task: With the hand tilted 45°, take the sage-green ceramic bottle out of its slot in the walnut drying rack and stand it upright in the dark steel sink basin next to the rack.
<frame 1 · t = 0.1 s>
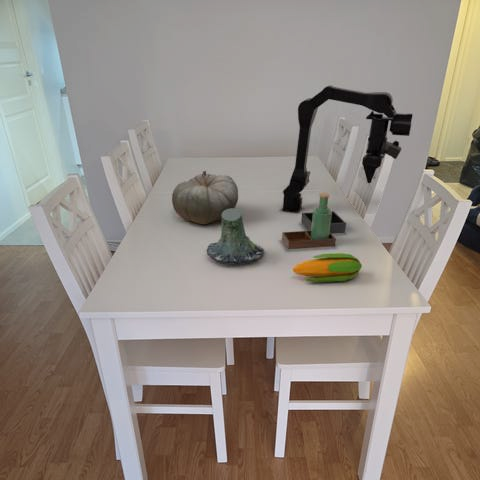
hand: (370, 179, 163), 15 cm above the table, tool pointing down, fingers open, 9 cm apart
sink: (322, 228, 162), on the table
gourd: (205, 218, 171), on the table
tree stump: (235, 255, 143), on the table
bottle: (319, 241, 151), point 1 cm above the table, touching rack
corn: (325, 279, 130), on the table
rack: (307, 244, 151), on the table
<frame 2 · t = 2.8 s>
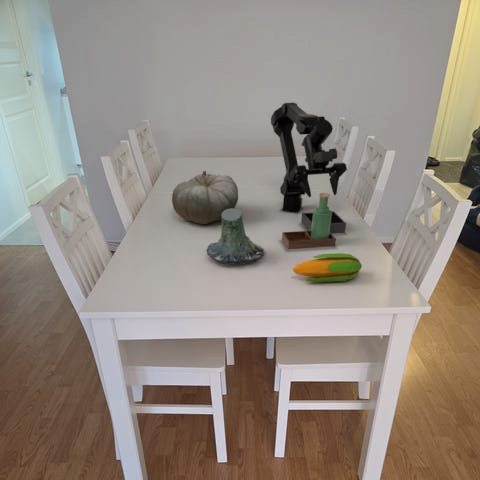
hand: (322, 195, 151), 14 cm above the table, tool tilted 40°, fingers open, 9 cm apart
nothing on the table moved.
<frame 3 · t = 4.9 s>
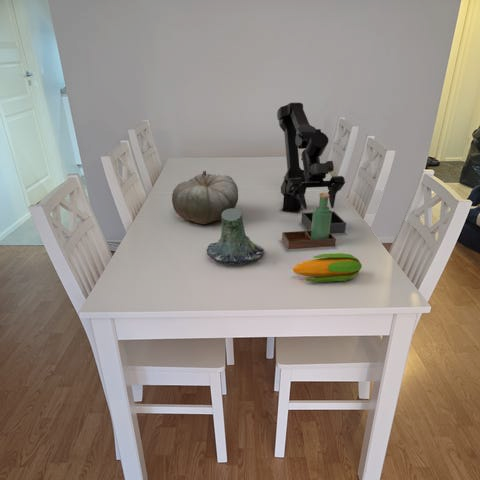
hand: (319, 208, 148), 11 cm above the table, tool tilted 45°, fingers open, 9 cm apart
nothing on the table moved.
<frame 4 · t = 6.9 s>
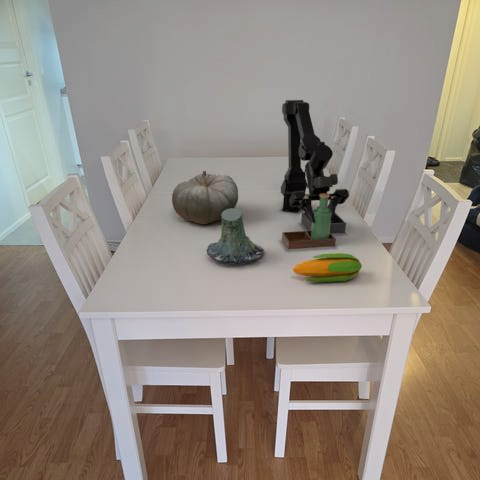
hand: (322, 221, 146), 8 cm above the table, tool tilted 45°, fingers closed on bottle, 6 cm apart
bottle: (319, 241, 151), point 1 cm above the table, touching gripper, rack
everything else where it was.
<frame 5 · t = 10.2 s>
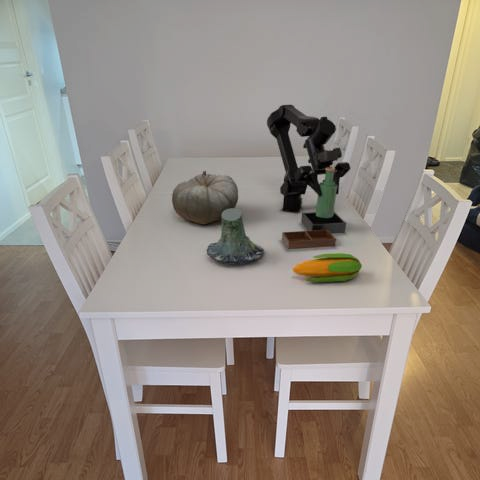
hand: (329, 194, 151), 14 cm above the table, tool tilted 45°, fingers closed on bottle, 6 cm apart
bottle: (324, 214, 156), point 6 cm above the table, touching gripper
everything else where it was.
when the fingers open (8 cm above the table, at t = 13.4 s): bottle stays where it is, resting on sink.
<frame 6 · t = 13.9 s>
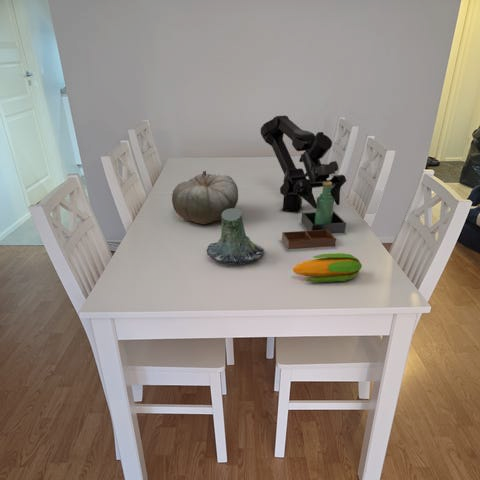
hand: (327, 206, 156), 9 cm above the table, tool tilted 45°, fingers open, 9 cm apart
bottle: (322, 227, 162), point 1 cm above the table, touching sink
everything else where it was.
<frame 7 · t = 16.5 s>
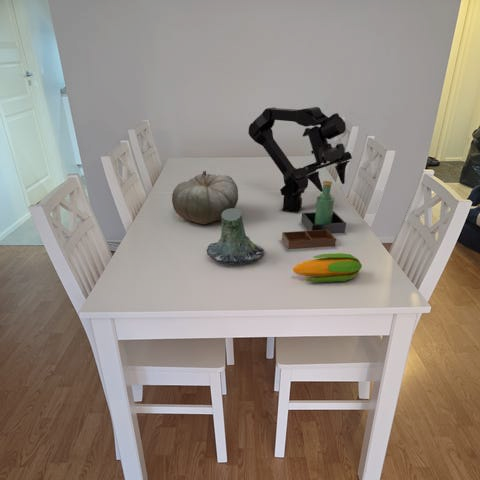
hand: (332, 187, 162), 12 cm above the table, tool tilted 30°, fingers open, 9 cm apart
nothing on the table moved.
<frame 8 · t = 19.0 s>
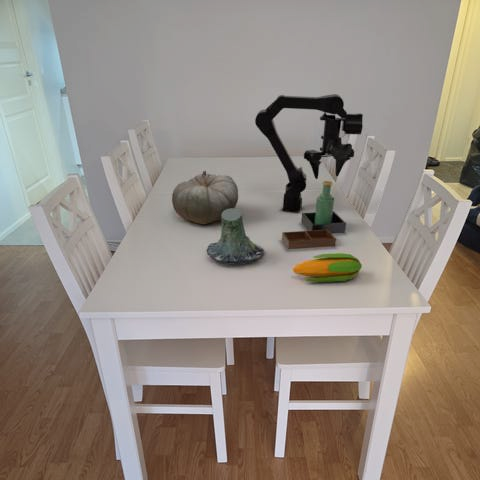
hand: (326, 177, 171), 13 cm above the table, tool pointing down, fingers open, 9 cm apart
nothing on the table moved.
at the end: bottle 0.1 cm off-centre in the sink, point 0.6 cm above the sink's base; bottle tilted 0°; the gripper is holding nothing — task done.
